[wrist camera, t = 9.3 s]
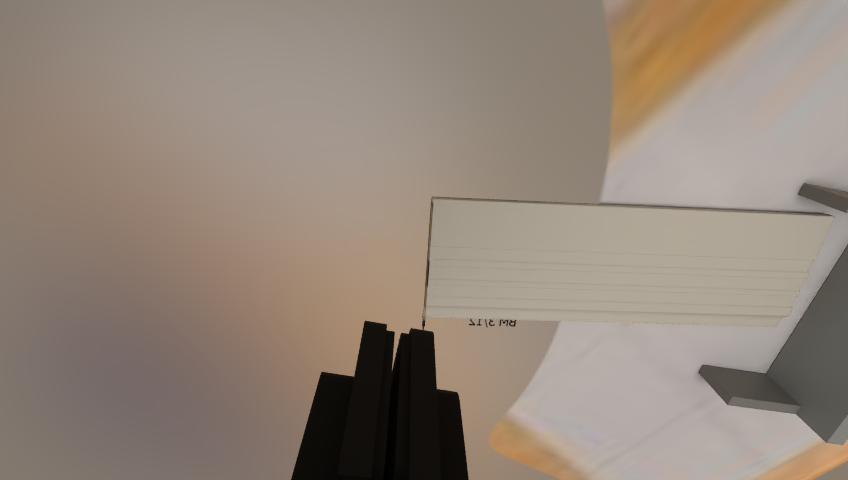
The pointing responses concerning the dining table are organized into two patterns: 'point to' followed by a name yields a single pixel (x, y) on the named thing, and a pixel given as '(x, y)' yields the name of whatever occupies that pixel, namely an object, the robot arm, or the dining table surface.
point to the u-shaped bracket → (804, 356)
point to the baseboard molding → (616, 262)
